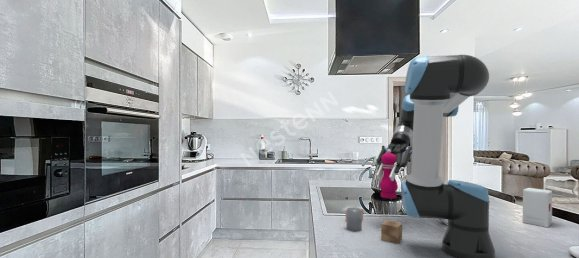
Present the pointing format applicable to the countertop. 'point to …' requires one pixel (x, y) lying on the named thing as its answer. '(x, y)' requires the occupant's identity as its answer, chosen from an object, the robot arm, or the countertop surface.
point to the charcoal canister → (354, 219)
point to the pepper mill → (386, 183)
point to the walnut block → (391, 231)
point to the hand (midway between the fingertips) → (384, 177)
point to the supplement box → (537, 207)
